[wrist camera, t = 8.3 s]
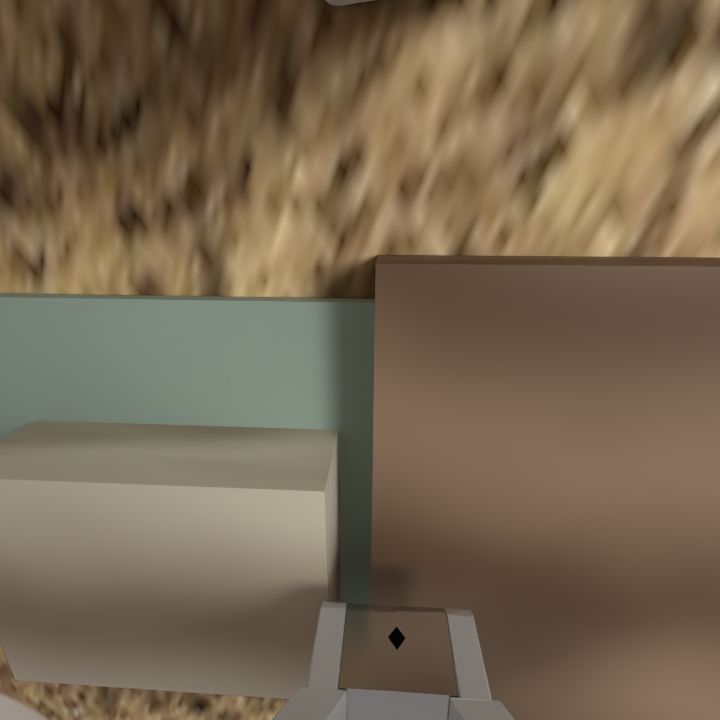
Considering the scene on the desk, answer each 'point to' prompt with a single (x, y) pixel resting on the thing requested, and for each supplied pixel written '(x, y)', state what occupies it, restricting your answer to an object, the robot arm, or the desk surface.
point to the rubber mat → (204, 376)
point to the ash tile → (167, 554)
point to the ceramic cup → (345, 2)
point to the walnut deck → (556, 473)
